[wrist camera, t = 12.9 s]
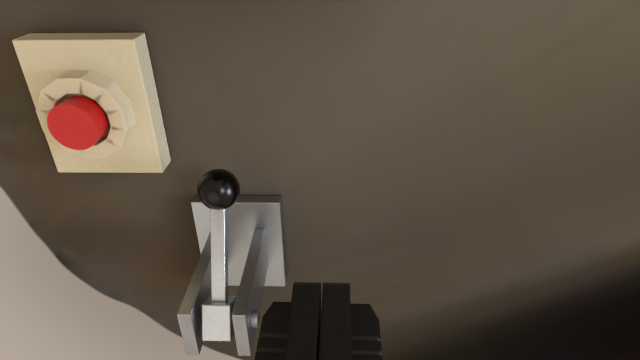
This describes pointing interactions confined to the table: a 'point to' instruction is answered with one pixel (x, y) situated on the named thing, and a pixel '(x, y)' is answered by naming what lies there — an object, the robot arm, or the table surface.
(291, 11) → the table surface
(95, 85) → the button block
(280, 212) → the base
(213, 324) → the lever handle
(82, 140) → the button
